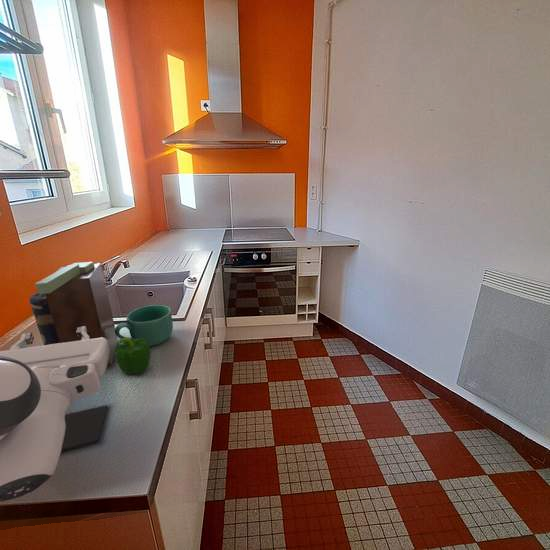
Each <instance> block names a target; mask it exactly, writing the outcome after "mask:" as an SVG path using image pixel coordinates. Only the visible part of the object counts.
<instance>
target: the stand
mask: <svg viewBox="0 0 550 550" xmlns="http://www.w3.org/2000/svg"><path fill="white" fill-rule="evenodd" d="M94 266H95V267H94V268H93V269H91V270H90V271H88V272H87V273H80V274H79V275H77V276H76V277H74V278H73V279H71V280H69V281H68V282H66V283H65V284H63V285H62V286H60V287H58V288H57V289H55V290H54V291H52V292H51V293H45V295H46V298H47V302H48V305H49V308H50V312H51V315H52V318H53V322H54V325H55V328H56V332H57V335H58V338H59V342H60V343H65V342H72V341H80V340H81V339H82V338H78V335H77V333H76V332H77V327H83V326H86V330H87V334H88V336H89V337H90V339H94V338H101V337H103V338H105V339H106V340H107V341H108V344H109V349H110V352H109V359H108V364H107V368H109V367H111V366H112V363H113V359H114V358H115V348H116V346H118V343H119V338H118V337H117V336H116V334H115V328H116V326H115V321H114V317H113V313H112V312H113V311H112V308H111V307H112V306H111V303H110V300H109V294H108V290H107V286H106V281H105V277H104V272H103V269H102V265H101V263H100V262H97V263H94ZM65 267H66V266H61V267H59V268H58V269H57V270H56V271H55V272H57V271H59V270H61V269H63V268H65Z"/></svg>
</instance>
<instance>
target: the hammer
mask: <svg viewBox="0 0 550 550" xmlns="http://www.w3.org/2000/svg"><path fill="white" fill-rule="evenodd" d="M94 264H95V262H94V261H83V262H73V263H72V264H68V265H66V266H64V267H65V268H63V269H61V270H59V271H57V270H56V271H57V272H56V271H55V272H54V273H52V274H50V275H48V276H46V277H45V278H42V279H41V280H39V281H37V282H35V283H34V286H35V289H36V293H38V294H45V293H51V292H52V291H54V290H55V289H57V288H58V287H60V286H62V285H63V284H65V283H66V282H68V281H69V280H71V279H73V278H74V277H76V276H77V275H79V274H80V273H87V272H88V271H90V270H91V269H93V268H94V267H95V266H94Z"/></svg>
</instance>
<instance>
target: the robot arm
mask: <svg viewBox="0 0 550 550" xmlns="http://www.w3.org/2000/svg"><path fill="white" fill-rule="evenodd" d="M76 333H77V335H78V338H82V339H81V340H80V341H72V342H65V343H58V344H50V345H44V344H43V345H37V346H29V345H33V343H34V339H35V338H34V335H33V332H27V333H22V334H21V337H20V339H19V340H17V341H16V342H14V344H12V345H11V346H10V348H9V349H7V350H1V351H0V502H6V501H11V500H14V499H18V498H20V497H23V496H25V495H27V494H30V493H32V492H34V491H35V490H37V489H38V488H40V487H41V486H42V485H44V484H45V483H46V482H48V480H50V478H51V477H52V476H53V475H54V473H55V471H56V469H57V467H58V464H59V460H60V457H61V453H62V452H61V450H62V445H63V441H64V435H65V430H66V423H65V415H66V414H67V412H68V410H69V407H70V405H71V404H73V403H75V402H77V401H79V400H81V399H83V398H86V397H88V396H89V395H92V394H94V393H97V392H98V391H99V390H100V389H101V377H103V375H104V374H105V373H106V370H107V368H108V367H107V364H108V359H109V352H110V349H109V344H108V341H107V340H106V339H105V338H103V337H101V338H94V339H90V337H89V336H88V334H87V330H86V326H83V327H77V332H76ZM27 346H29V347H27Z"/></svg>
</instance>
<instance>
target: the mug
mask: <svg viewBox="0 0 550 550" xmlns="http://www.w3.org/2000/svg"><path fill="white" fill-rule="evenodd" d="M126 322H127V323H126ZM126 322H120V323H119V324H117V325H116V326H115V334H116V336H117V338H118V339H119V340H120V339H122V338H128V339H137V338H140V337H142V338H143V339H144V340H145V341H146V342H147V343H148V344H149V346H150V347H151V346H157V345H159V344H161V343H163V342H165V341H166V340H167V339H168V338H170V337H171V335H172V333H173V330H174V325H173V324H174V323H173V316H172V310H171V308H170V307H169V306H168V305H164V304H163V305H162V304H151V305H145V306H142V307H138V308H135V309H134V310H132V311H130V312H129V313H128V314H127V315H126ZM123 328H126V329H127V330H128V331H129V335H130V337H128V336H124V335H122V334H121V333H120V331H121V330H122V329H123Z"/></svg>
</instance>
